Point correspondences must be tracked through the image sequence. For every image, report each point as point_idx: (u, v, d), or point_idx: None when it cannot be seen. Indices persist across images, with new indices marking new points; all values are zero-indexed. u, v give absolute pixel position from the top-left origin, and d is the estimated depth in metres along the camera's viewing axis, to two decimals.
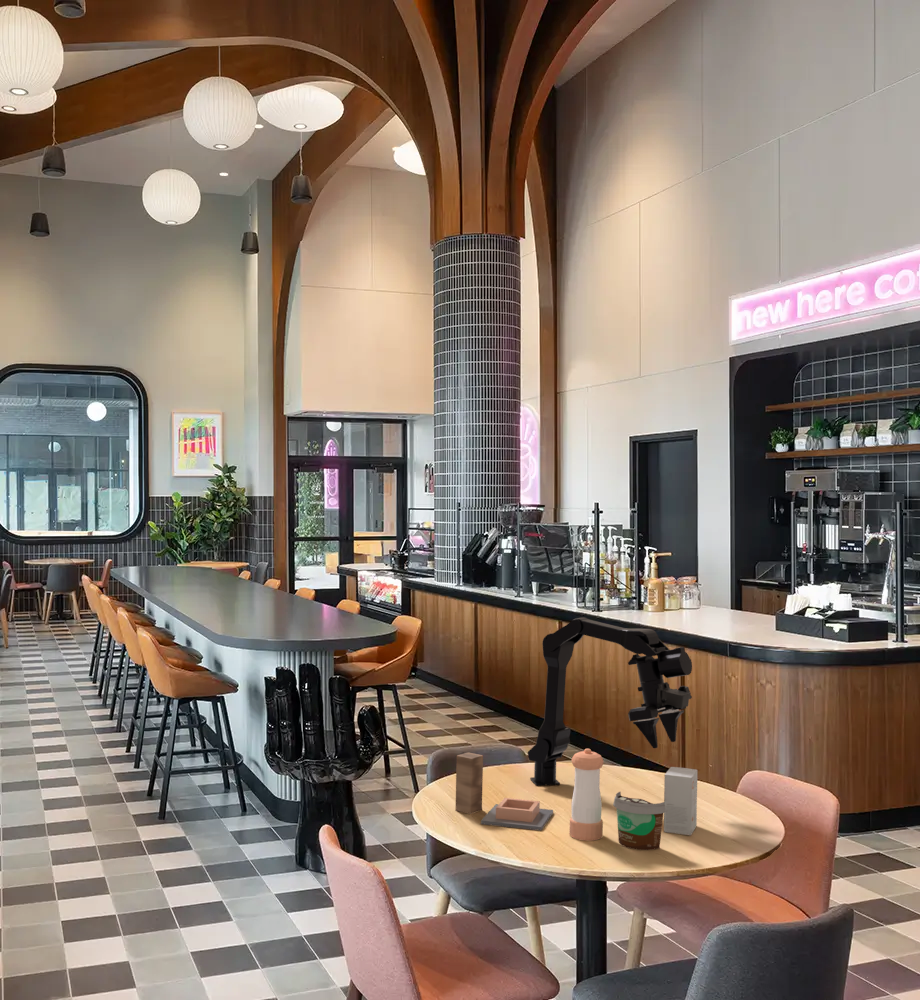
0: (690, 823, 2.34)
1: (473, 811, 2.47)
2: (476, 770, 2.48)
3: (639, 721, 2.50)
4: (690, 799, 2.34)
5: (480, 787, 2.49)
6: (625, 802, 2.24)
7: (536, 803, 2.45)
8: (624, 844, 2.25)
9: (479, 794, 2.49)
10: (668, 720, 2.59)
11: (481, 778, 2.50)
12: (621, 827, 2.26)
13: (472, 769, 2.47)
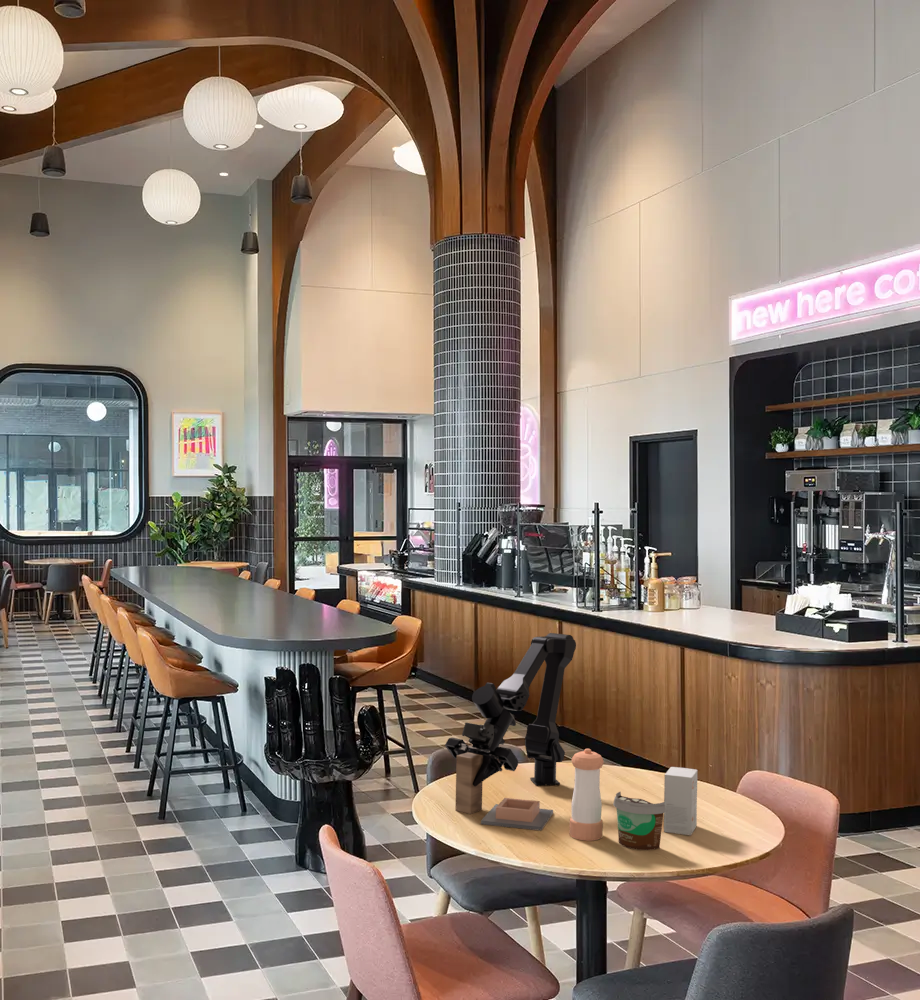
0: (690, 823, 2.34)
1: (473, 811, 2.47)
2: (476, 770, 2.48)
3: None
4: (690, 799, 2.34)
5: (480, 787, 2.49)
6: (625, 802, 2.24)
7: (536, 803, 2.45)
8: (624, 844, 2.25)
9: (479, 793, 2.49)
10: None
11: None
12: (621, 827, 2.26)
13: (472, 769, 2.47)
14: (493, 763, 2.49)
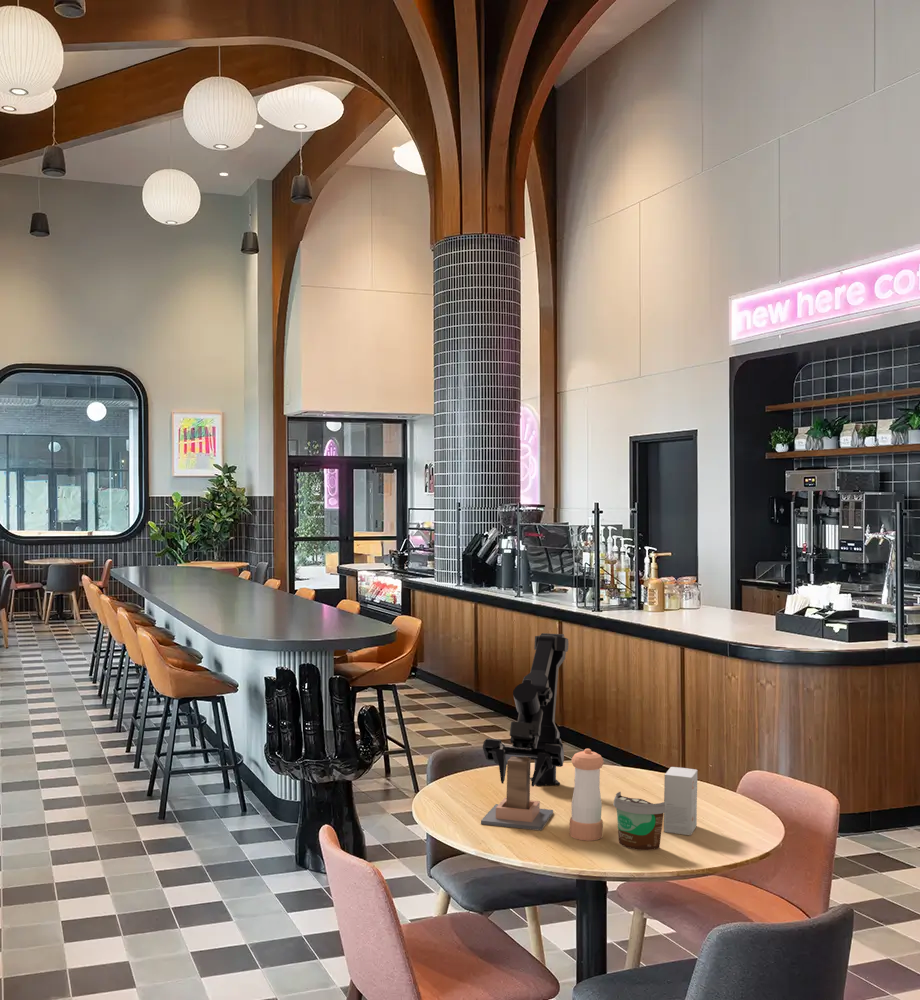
0: (690, 823, 2.34)
1: None
2: (528, 773, 2.43)
3: None
4: (690, 799, 2.34)
5: (529, 790, 2.44)
6: (625, 802, 2.24)
7: (536, 803, 2.45)
8: (624, 844, 2.25)
9: (528, 797, 2.44)
10: None
11: (529, 781, 2.45)
12: (621, 827, 2.26)
13: (526, 773, 2.41)
14: (546, 761, 2.45)
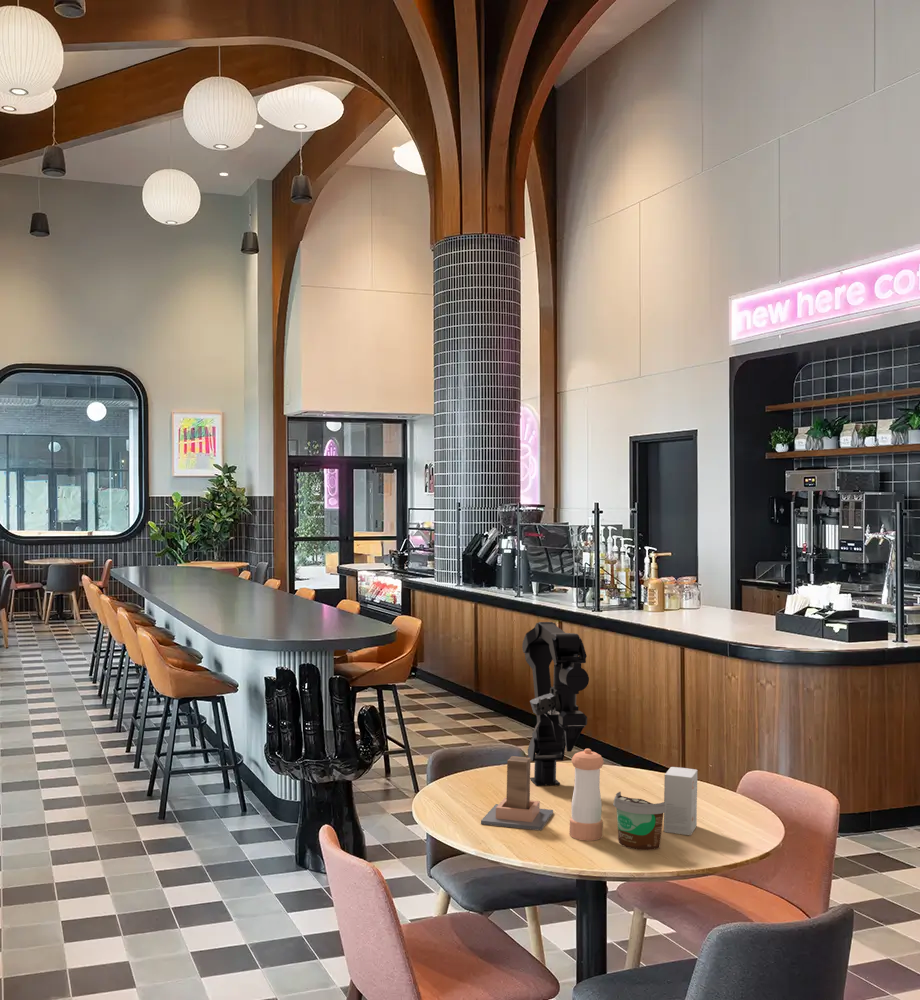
0: (690, 823, 2.34)
1: None
2: (528, 773, 2.43)
3: None
4: (690, 799, 2.34)
5: (529, 790, 2.44)
6: (625, 802, 2.24)
7: (536, 803, 2.45)
8: (624, 844, 2.25)
9: (528, 797, 2.44)
10: None
11: (529, 781, 2.45)
12: (621, 827, 2.26)
13: (526, 773, 2.41)
14: None
